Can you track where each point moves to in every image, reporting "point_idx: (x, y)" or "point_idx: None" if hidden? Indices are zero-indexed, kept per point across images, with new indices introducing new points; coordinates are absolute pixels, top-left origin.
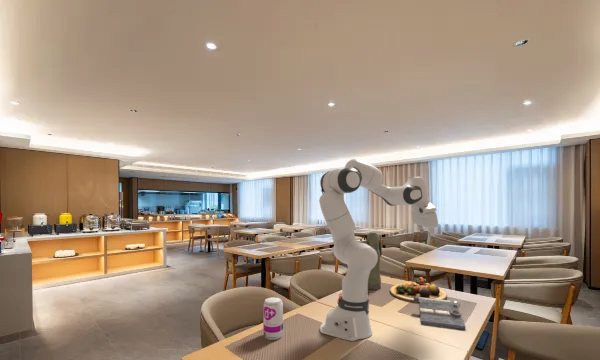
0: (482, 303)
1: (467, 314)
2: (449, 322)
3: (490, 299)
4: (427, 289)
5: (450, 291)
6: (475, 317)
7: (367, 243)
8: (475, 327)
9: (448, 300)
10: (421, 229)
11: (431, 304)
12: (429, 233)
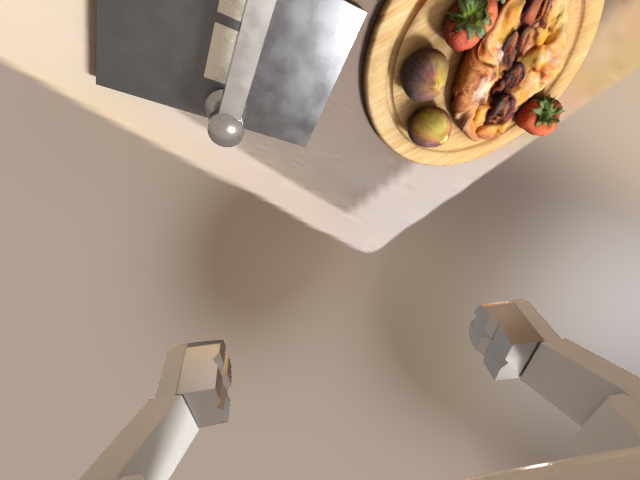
0: (340, 223)
1: (255, 151)
2: (119, 35)
3: (363, 249)
4: (418, 92)
5: (450, 187)
6: (231, 162)
7: None
8: (140, 125)
9: (241, 110)
10: (507, 354)
11: (326, 55)
12: (179, 375)
